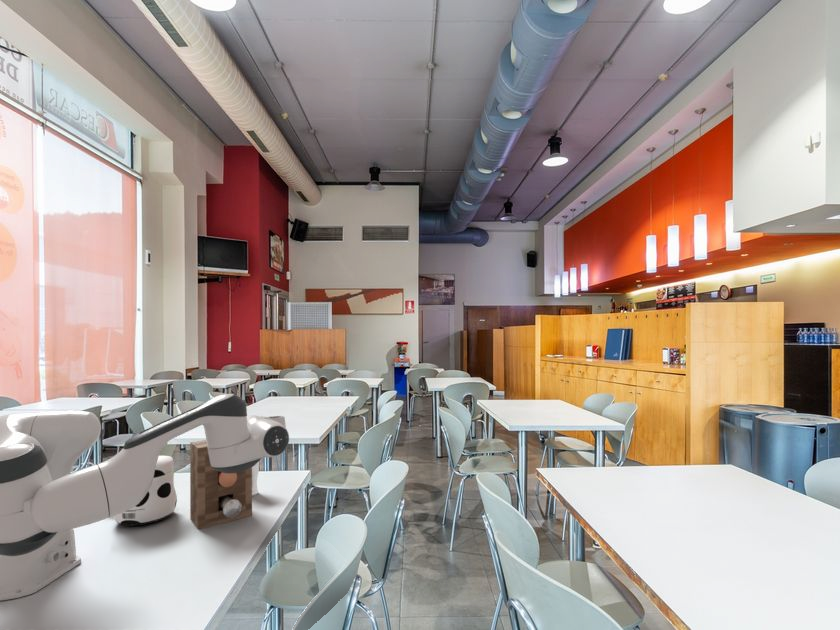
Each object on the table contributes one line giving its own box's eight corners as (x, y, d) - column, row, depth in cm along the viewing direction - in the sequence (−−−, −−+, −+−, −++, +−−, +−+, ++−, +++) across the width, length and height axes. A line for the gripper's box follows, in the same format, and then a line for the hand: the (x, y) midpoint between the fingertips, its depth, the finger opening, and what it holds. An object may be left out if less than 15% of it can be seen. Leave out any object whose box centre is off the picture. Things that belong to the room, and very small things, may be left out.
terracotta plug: (237, 485, 143) (237, 468, 143) (219, 488, 140) (219, 471, 140) (229, 478, 150) (229, 462, 150) (212, 482, 146) (211, 465, 147)
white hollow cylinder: (238, 492, 170) (238, 451, 170) (258, 489, 173) (258, 449, 173) (239, 498, 163) (239, 455, 164) (260, 495, 166) (260, 453, 167)
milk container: (172, 504, 159) (172, 451, 160) (181, 520, 145) (181, 462, 146) (111, 517, 149) (111, 460, 149) (115, 536, 135) (115, 473, 135)
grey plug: (241, 515, 139) (241, 498, 140) (223, 520, 136) (223, 502, 136) (233, 507, 146) (233, 490, 146) (215, 511, 143) (215, 494, 143)
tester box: (252, 515, 148) (251, 439, 149) (198, 529, 138) (197, 448, 139) (242, 506, 156) (241, 434, 157) (190, 519, 146) (190, 442, 147)
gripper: (213, 452, 117) (199, 444, 128) (290, 438, 130) (272, 432, 140) (212, 427, 117) (199, 421, 128) (289, 415, 130) (271, 411, 141)
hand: (238, 426), depth 134 cm, fingers closed
